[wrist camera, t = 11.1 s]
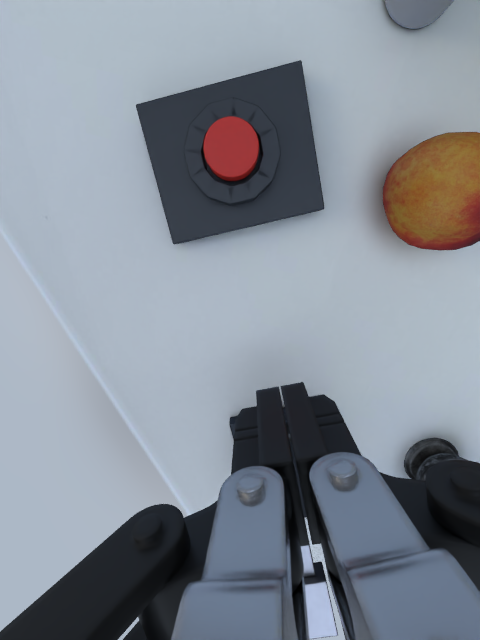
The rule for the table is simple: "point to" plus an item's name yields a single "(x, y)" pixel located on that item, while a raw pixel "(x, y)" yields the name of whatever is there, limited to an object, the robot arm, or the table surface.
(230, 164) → the button
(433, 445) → the black chess piece
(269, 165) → the control block
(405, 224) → the fruit
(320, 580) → the lever
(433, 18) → the beverage can
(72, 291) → the table surface
